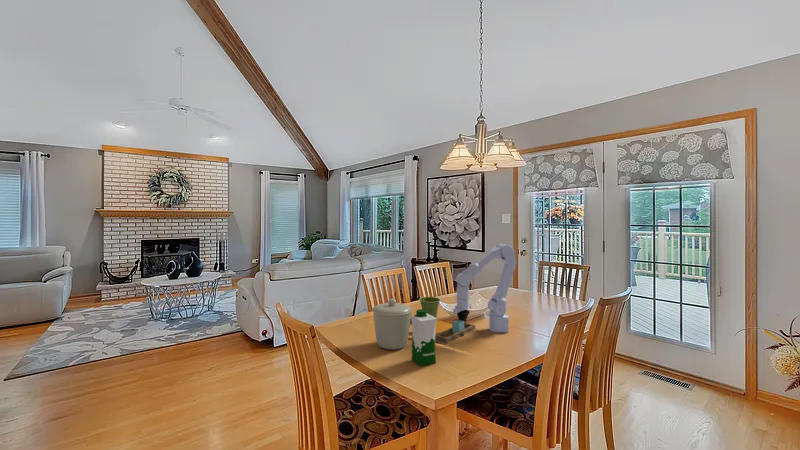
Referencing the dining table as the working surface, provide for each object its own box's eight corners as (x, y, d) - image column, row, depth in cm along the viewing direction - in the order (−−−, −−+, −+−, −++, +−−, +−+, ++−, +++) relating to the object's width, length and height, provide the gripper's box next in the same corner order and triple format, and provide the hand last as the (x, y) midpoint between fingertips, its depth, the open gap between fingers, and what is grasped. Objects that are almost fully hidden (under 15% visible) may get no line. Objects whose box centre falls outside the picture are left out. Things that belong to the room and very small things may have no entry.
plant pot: (415, 317, 205) (415, 297, 204) (433, 315, 210) (433, 295, 209) (425, 323, 194) (425, 302, 194) (444, 320, 199) (444, 300, 199)
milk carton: (427, 355, 151) (427, 307, 150) (439, 363, 143) (439, 313, 142) (408, 359, 147) (409, 310, 146) (420, 367, 139) (420, 316, 138)
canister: (366, 341, 167) (366, 296, 166) (402, 336, 174) (402, 292, 173) (380, 356, 150) (380, 305, 149) (419, 349, 157) (419, 301, 156)
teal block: (457, 330, 179) (457, 319, 179) (464, 332, 177) (464, 321, 177) (452, 333, 176) (452, 321, 175) (459, 334, 173) (459, 323, 173)
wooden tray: (461, 327, 187) (462, 322, 187) (476, 331, 182) (476, 325, 182) (433, 341, 167) (433, 334, 167) (448, 345, 162) (448, 339, 162)
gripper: (463, 294, 187) (462, 320, 187) (447, 299, 176) (447, 327, 176) (475, 296, 182) (475, 323, 183) (460, 301, 171) (460, 330, 172)
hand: (462, 325), depth 179 cm, fingers closed
